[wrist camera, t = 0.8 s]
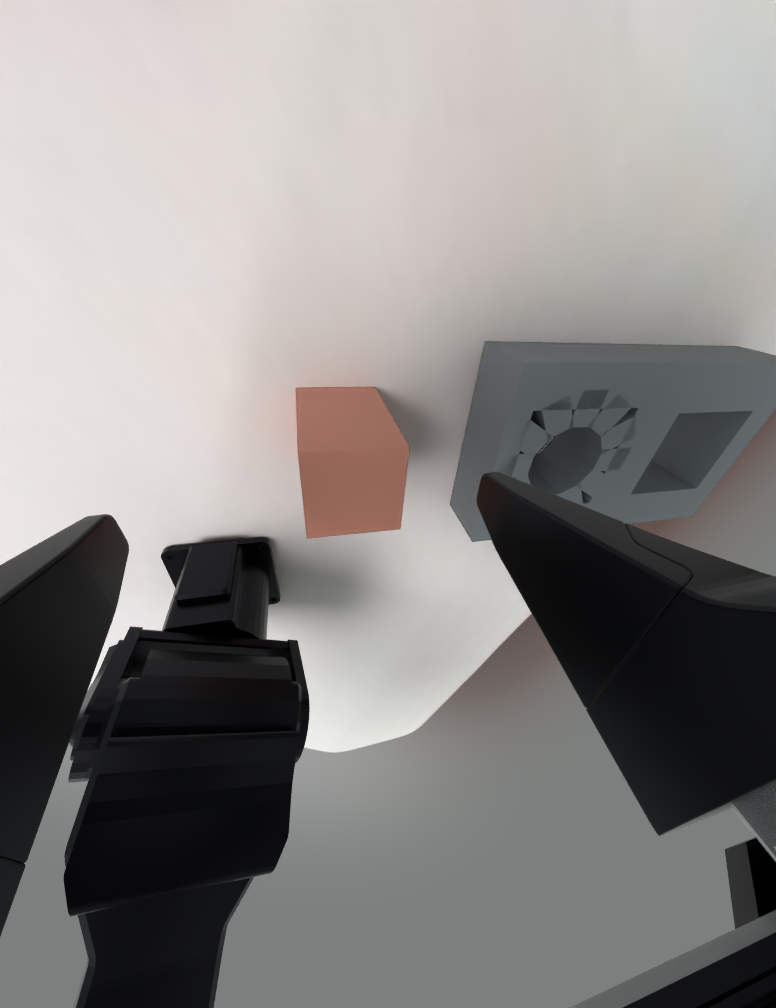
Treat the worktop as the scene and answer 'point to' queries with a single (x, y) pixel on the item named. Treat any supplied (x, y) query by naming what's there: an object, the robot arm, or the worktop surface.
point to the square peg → (349, 461)
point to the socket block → (612, 424)
